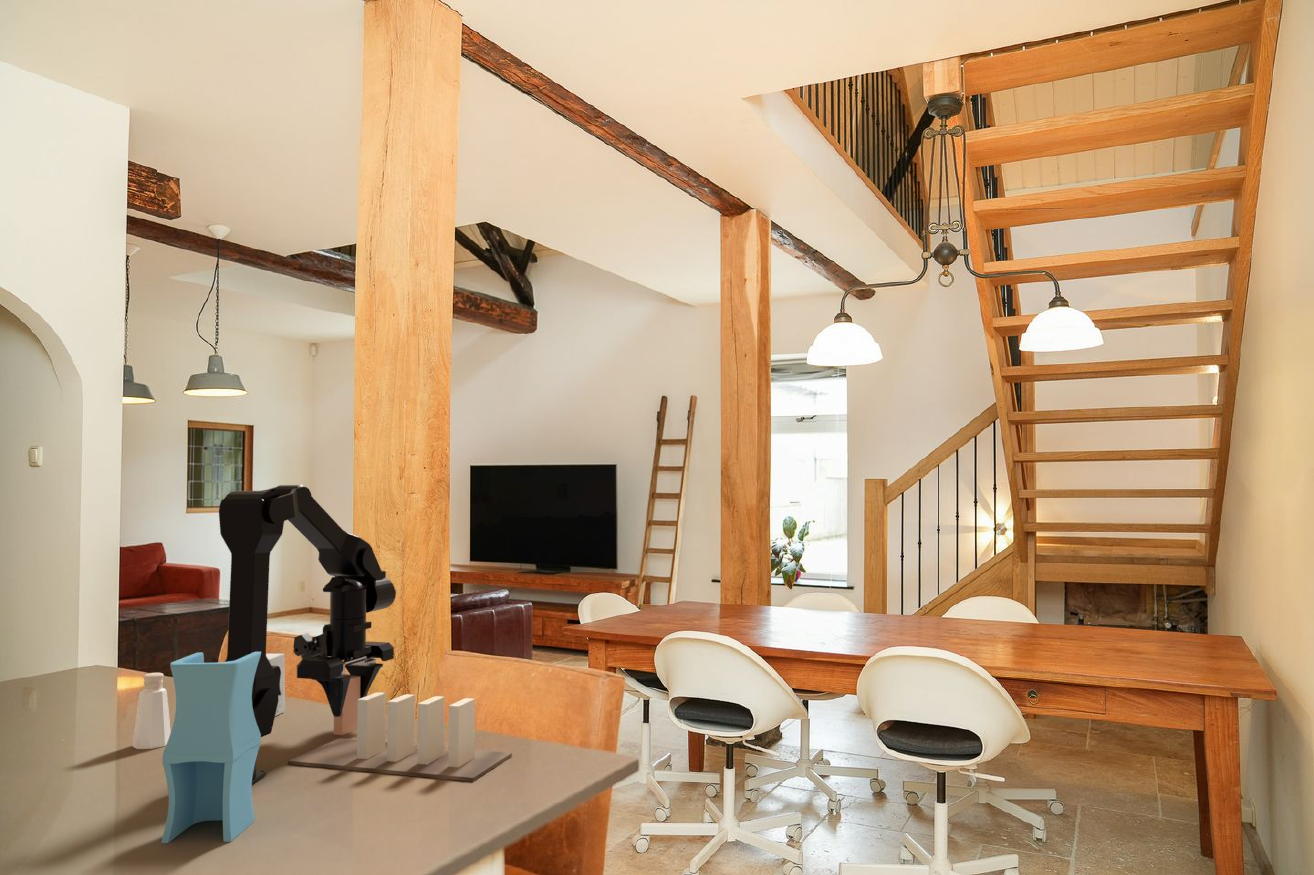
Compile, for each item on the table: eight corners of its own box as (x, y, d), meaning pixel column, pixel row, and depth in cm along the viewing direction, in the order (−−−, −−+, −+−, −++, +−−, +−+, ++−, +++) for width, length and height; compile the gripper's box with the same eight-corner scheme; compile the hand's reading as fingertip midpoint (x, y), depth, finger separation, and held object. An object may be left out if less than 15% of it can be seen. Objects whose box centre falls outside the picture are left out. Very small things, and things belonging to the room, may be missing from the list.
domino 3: (444, 754, 134) (444, 696, 134) (427, 764, 129) (427, 704, 130) (434, 754, 134) (435, 696, 135) (417, 763, 130) (417, 703, 130)
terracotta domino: (359, 727, 151) (360, 676, 152) (342, 735, 147) (342, 682, 147) (351, 726, 152) (352, 675, 152) (333, 734, 147) (334, 681, 148)
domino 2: (414, 752, 135) (414, 694, 136) (396, 761, 131) (397, 702, 131) (405, 751, 136) (405, 694, 136) (386, 760, 131) (387, 701, 131)
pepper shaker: (153, 738, 146) (155, 669, 146) (179, 741, 144) (181, 671, 144) (123, 747, 140) (125, 676, 141) (150, 751, 139) (151, 678, 139)
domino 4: (474, 757, 132) (475, 698, 133) (458, 767, 128) (458, 706, 128) (465, 756, 133) (465, 698, 133) (448, 766, 128) (448, 705, 129)
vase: (259, 816, 111) (262, 651, 112) (231, 841, 103) (234, 663, 104) (194, 818, 110) (197, 652, 111) (160, 843, 102) (164, 664, 103)
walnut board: (511, 756, 135) (511, 752, 135) (473, 781, 123) (473, 777, 123) (338, 741, 143) (338, 738, 143) (287, 764, 132) (287, 760, 132)
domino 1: (385, 749, 137) (385, 692, 137) (366, 759, 132) (367, 700, 132) (376, 749, 137) (376, 692, 137) (357, 758, 132) (357, 699, 133)
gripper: (341, 608, 162) (340, 696, 161) (268, 623, 144) (267, 723, 143) (395, 610, 158) (395, 700, 158) (328, 626, 141) (327, 728, 140)
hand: (347, 712), depth 150 cm, fingers open, 5 cm apart
